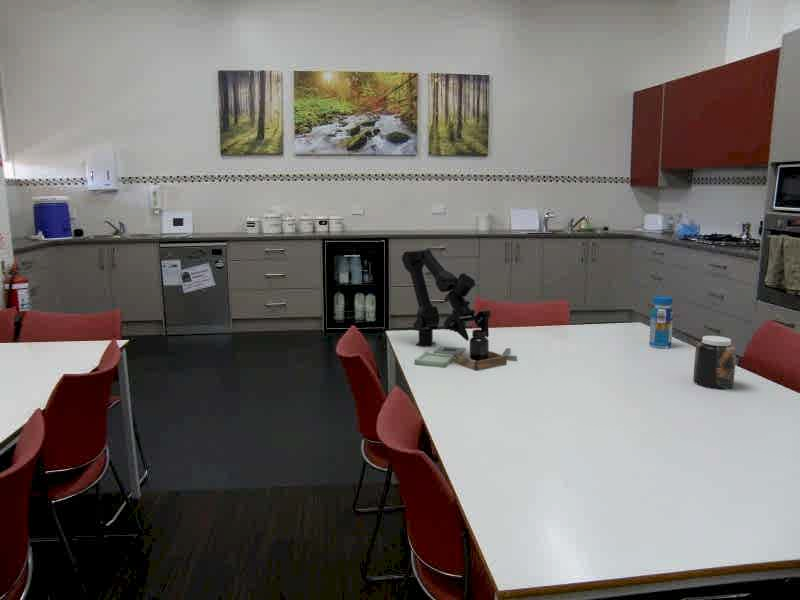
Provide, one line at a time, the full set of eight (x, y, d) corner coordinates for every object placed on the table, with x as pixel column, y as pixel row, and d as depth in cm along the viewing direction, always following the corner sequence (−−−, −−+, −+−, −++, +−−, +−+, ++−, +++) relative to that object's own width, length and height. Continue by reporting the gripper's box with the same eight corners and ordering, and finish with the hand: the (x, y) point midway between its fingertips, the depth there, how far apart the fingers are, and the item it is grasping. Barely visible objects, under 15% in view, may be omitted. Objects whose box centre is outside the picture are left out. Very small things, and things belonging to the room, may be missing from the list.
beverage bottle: (644, 345, 259) (647, 296, 255) (659, 342, 262) (662, 294, 259) (660, 349, 251) (663, 299, 248) (676, 347, 255) (679, 297, 251)
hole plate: (440, 348, 254) (440, 346, 254) (465, 351, 251) (465, 348, 251) (433, 355, 245) (433, 352, 245) (458, 357, 242) (458, 354, 242)
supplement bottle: (488, 360, 237) (488, 328, 235) (488, 365, 230) (489, 333, 228) (469, 360, 238) (469, 328, 236) (469, 365, 231) (469, 332, 229)
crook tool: (506, 352, 249) (506, 348, 249) (521, 353, 248) (521, 349, 247) (500, 359, 238) (501, 355, 238) (516, 361, 236) (516, 356, 236)
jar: (691, 386, 206) (695, 340, 203) (694, 376, 216) (697, 333, 213) (733, 391, 200) (737, 344, 198) (733, 381, 211) (737, 336, 208)
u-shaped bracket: (455, 362, 234) (455, 354, 234) (484, 357, 242) (484, 349, 241) (476, 370, 225) (476, 362, 224) (506, 364, 232) (506, 356, 231)
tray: (424, 356, 243) (424, 352, 243) (454, 359, 239) (454, 354, 239) (414, 364, 232) (414, 359, 232) (445, 367, 228) (445, 362, 228)
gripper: (468, 314, 251) (487, 347, 244) (429, 319, 241) (447, 354, 234) (482, 296, 243) (501, 330, 236) (442, 301, 233) (461, 336, 226)
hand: (478, 338), depth 233 cm, fingers open, 9 cm apart
